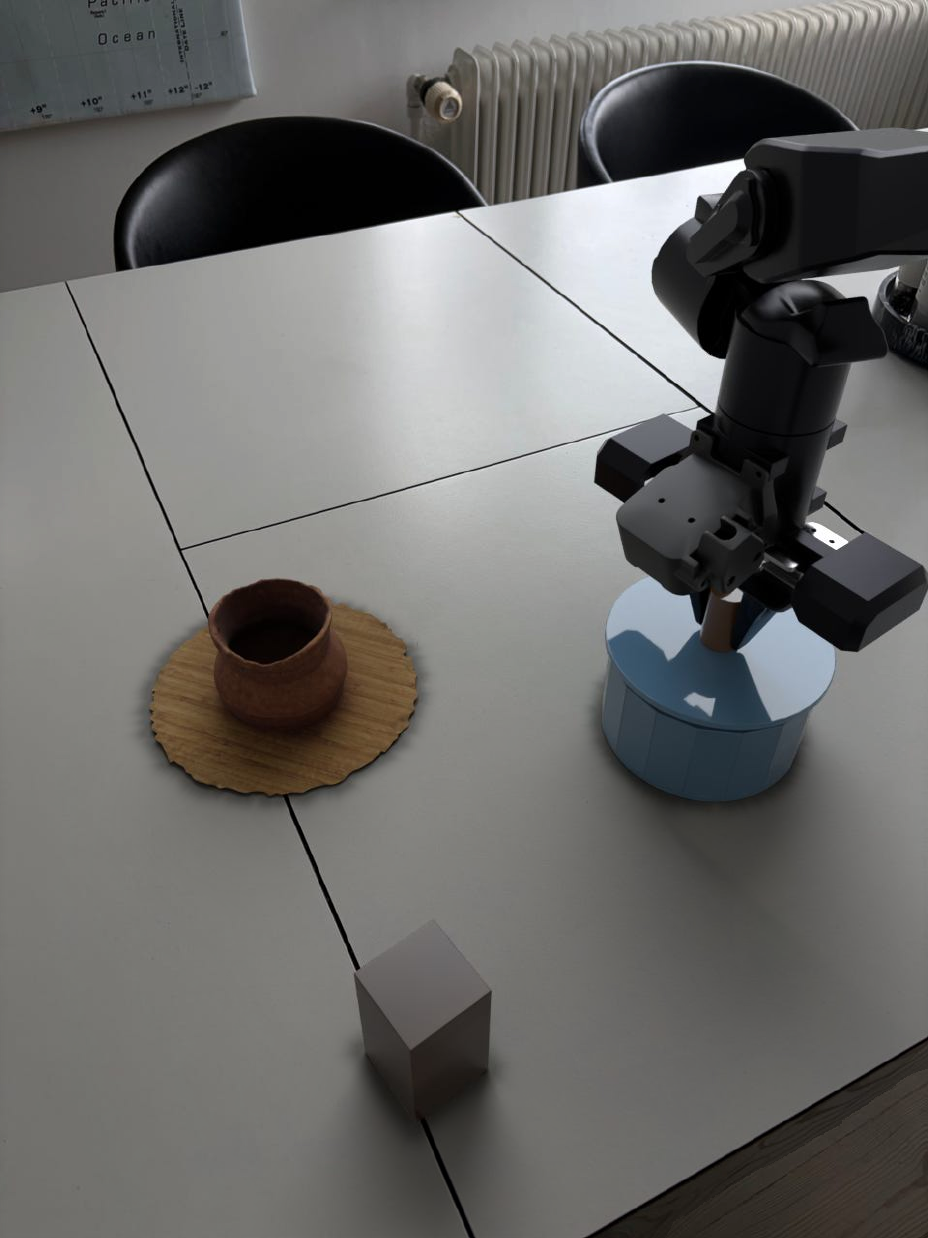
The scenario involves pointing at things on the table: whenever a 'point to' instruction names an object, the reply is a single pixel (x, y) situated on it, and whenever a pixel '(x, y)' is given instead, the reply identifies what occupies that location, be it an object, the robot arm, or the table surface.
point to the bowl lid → (715, 660)
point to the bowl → (694, 748)
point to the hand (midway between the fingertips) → (720, 633)
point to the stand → (424, 1019)
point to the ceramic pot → (282, 691)
